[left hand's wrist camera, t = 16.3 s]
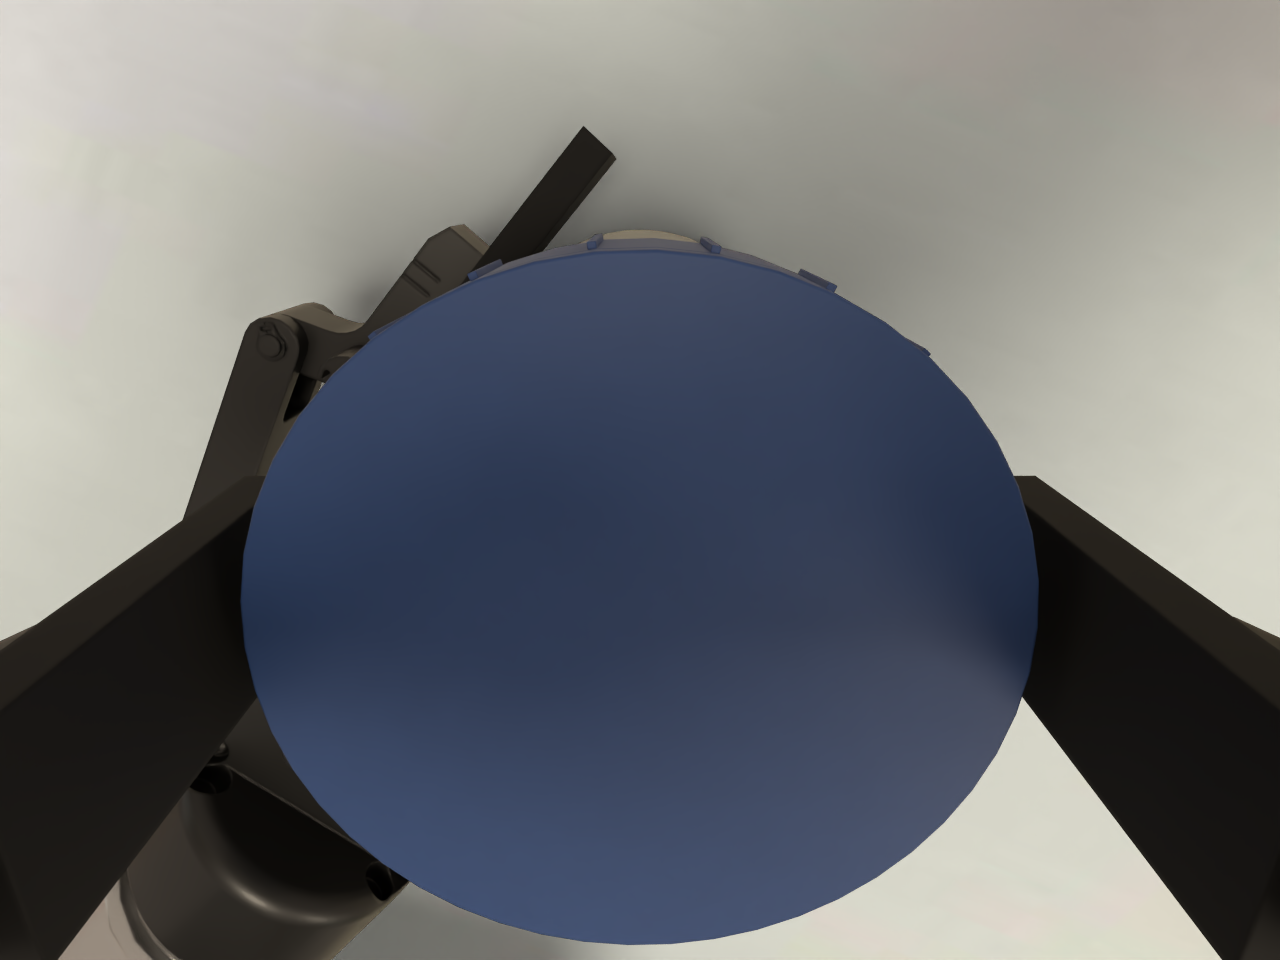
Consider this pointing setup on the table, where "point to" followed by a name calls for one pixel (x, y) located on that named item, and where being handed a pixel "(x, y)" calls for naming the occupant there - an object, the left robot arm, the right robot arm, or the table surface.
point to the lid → (639, 594)
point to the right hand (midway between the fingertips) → (768, 301)
